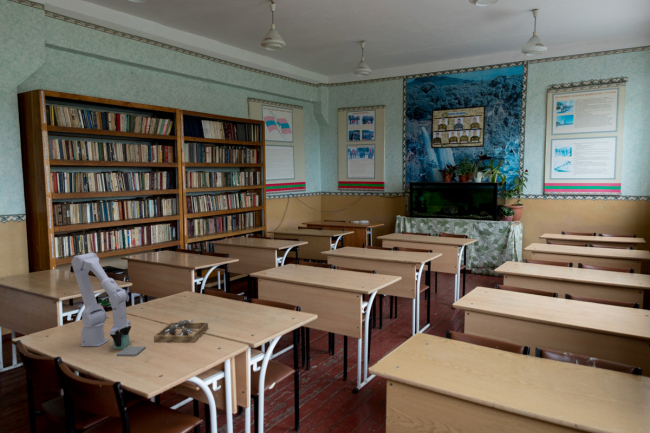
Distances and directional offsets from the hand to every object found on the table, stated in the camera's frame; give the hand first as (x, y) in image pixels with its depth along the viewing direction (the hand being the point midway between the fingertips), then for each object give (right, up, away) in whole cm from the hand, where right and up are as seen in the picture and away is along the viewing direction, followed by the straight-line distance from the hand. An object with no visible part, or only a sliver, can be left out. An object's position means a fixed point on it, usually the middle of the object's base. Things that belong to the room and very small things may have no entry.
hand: (121, 343), depth 206 cm
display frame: (+24, 0, +14) cm, 28 cm away
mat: (+8, -2, -6) cm, 10 cm away
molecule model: (+22, 0, +16) cm, 28 cm away
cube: (0, -2, 0) cm, 2 cm away
